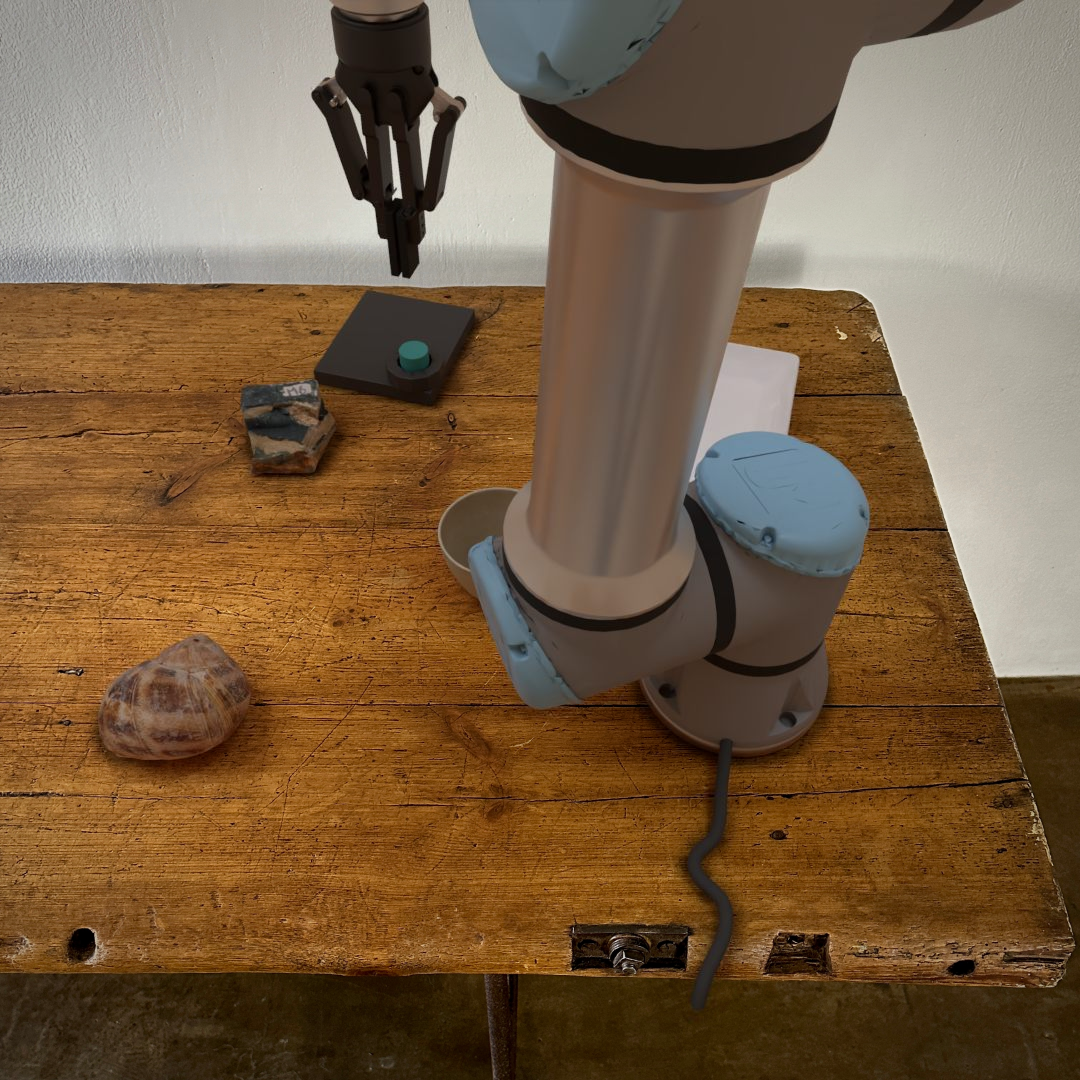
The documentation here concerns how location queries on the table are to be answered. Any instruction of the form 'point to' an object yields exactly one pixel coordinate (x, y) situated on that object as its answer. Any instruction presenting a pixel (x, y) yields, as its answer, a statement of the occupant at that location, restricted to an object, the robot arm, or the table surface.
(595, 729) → the table surface
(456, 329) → the black button board
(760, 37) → the robot arm
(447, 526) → the beige bowl
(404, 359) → the button
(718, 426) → the tray
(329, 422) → the rock
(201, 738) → the seashell
